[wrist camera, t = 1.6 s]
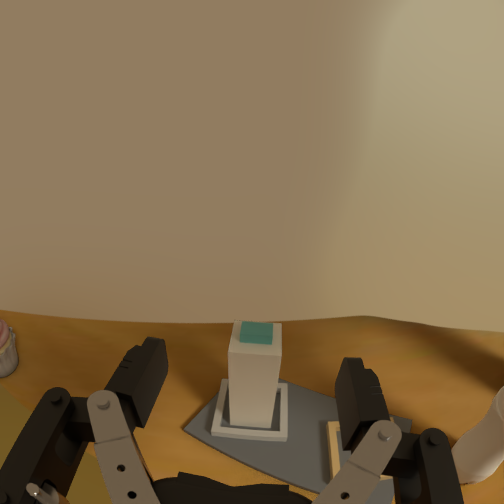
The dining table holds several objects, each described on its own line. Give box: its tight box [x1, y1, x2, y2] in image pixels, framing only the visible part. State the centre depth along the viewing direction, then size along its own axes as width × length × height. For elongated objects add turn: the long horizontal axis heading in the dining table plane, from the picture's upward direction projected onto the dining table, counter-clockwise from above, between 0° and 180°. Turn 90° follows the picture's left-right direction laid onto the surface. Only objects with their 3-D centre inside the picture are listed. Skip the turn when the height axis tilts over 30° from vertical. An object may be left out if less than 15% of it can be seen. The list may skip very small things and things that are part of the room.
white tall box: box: [228, 320, 282, 428], centre depth 28 cm, size 4×4×13 cm
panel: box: [184, 378, 412, 504], centre depth 27 cm, size 13×25×2 cm, turn 60°
